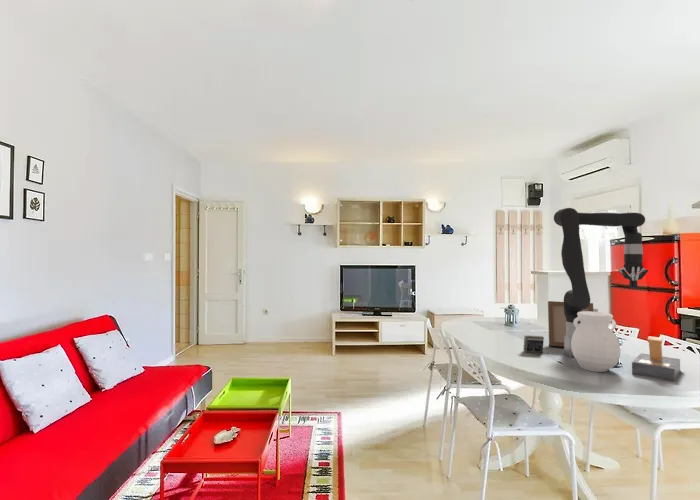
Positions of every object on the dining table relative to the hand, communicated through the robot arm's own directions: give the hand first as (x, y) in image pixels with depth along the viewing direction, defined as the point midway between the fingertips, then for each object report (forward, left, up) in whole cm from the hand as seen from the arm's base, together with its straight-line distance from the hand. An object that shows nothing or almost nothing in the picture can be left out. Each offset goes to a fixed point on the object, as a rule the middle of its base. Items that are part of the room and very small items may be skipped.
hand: (633, 288), depth 189 cm
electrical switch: (-45, +6, -35) cm, 58 cm away
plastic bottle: (-1, +34, -35) cm, 49 cm away
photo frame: (-19, +24, -35) cm, 47 cm away
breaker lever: (-4, -22, -30) cm, 37 cm away
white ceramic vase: (-29, -21, -35) cm, 50 cm away
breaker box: (-4, -22, -35) cm, 42 cm away
